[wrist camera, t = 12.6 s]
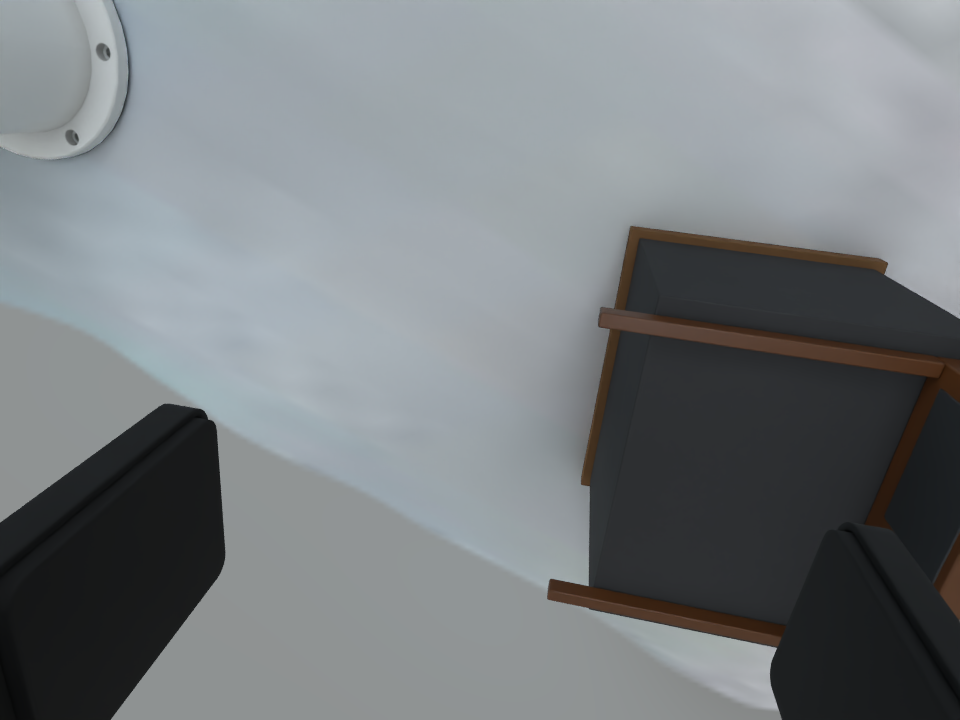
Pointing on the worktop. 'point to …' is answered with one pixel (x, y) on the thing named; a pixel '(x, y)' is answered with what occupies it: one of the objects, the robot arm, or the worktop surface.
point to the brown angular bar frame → (902, 496)
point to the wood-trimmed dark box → (744, 420)
